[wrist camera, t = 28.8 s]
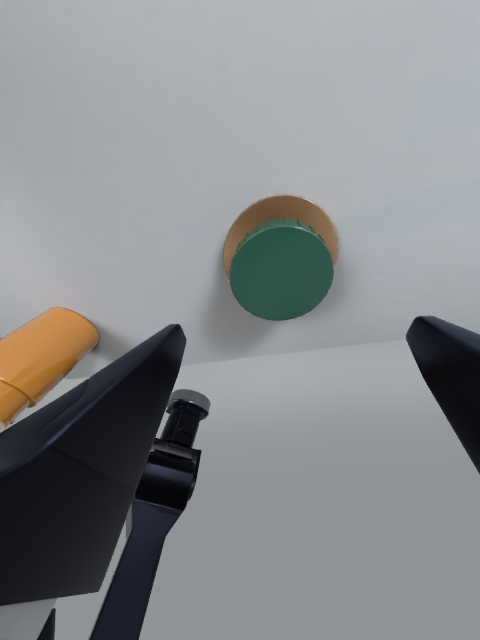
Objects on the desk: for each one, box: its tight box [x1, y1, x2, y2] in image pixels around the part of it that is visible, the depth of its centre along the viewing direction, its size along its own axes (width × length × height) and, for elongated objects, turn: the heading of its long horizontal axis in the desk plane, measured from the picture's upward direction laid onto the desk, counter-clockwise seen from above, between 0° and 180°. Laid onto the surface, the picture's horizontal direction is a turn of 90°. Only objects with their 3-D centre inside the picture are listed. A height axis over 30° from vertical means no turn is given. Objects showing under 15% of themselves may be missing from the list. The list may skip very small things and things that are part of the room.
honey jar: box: [0, 307, 100, 429], centre depth 18 cm, size 6×6×10 cm
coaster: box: [223, 194, 338, 280], centre depth 14 cm, size 8×8×1 cm
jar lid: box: [230, 217, 334, 321], centre depth 13 cm, size 7×7×2 cm
